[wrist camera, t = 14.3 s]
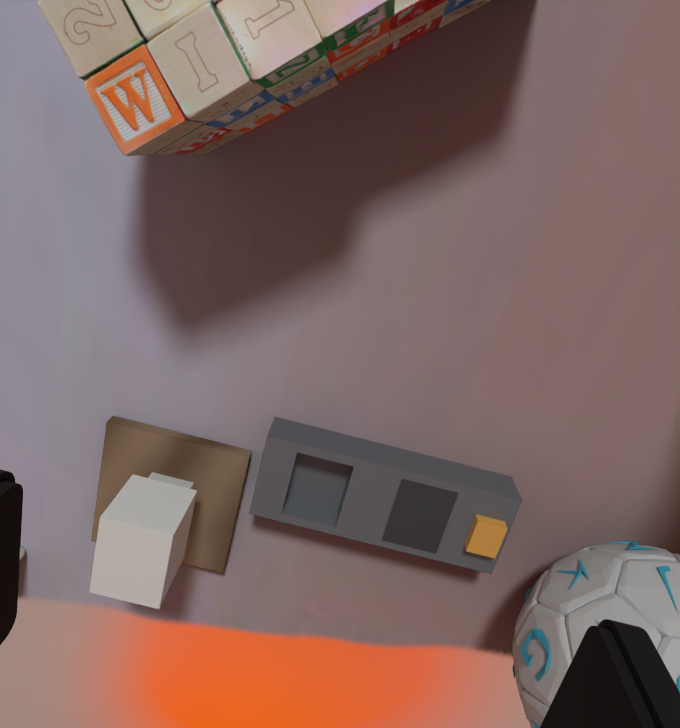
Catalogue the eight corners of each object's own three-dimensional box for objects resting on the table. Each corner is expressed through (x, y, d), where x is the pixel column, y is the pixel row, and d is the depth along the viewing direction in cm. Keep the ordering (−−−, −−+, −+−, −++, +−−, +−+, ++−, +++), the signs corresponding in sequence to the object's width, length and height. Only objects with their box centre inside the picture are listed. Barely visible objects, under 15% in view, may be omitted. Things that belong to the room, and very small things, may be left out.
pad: (251, 451, 42) (249, 457, 41) (226, 564, 45) (223, 573, 44) (112, 415, 41) (106, 421, 40) (97, 532, 45) (91, 540, 44)
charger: (205, 475, 41) (173, 535, 35) (192, 540, 43) (159, 609, 36) (144, 459, 41) (99, 517, 34) (133, 525, 43) (89, 592, 36)
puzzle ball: (639, 688, 47) (755, 918, 32) (461, 632, 46) (500, 844, 32) (743, 536, 42) (933, 729, 28) (545, 470, 41) (636, 635, 27)
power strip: (511, 477, 41) (524, 507, 38) (483, 546, 43) (493, 581, 39) (274, 416, 41) (265, 441, 37) (257, 490, 43) (246, 520, 39)
